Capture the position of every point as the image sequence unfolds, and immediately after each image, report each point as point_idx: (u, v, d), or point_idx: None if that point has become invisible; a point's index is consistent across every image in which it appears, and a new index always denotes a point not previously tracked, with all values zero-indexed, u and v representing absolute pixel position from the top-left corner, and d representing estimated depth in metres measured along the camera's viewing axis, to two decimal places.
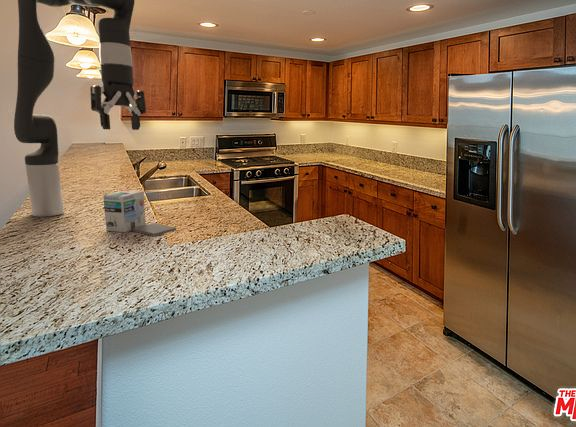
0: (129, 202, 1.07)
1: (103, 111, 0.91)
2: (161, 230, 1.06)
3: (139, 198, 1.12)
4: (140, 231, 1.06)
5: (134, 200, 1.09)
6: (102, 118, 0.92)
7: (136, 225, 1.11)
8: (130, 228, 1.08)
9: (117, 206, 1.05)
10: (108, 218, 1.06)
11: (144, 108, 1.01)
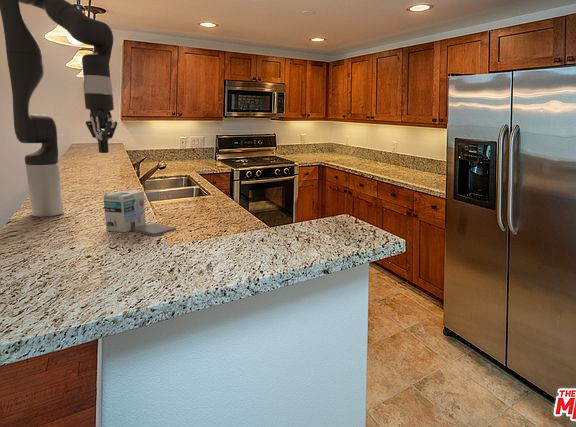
0: (129, 202, 1.07)
1: None
2: (161, 230, 1.06)
3: (139, 198, 1.12)
4: (140, 231, 1.06)
5: (134, 200, 1.09)
6: (106, 144, 1.10)
7: (136, 225, 1.11)
8: (130, 228, 1.08)
9: (117, 206, 1.05)
10: (108, 218, 1.06)
11: None
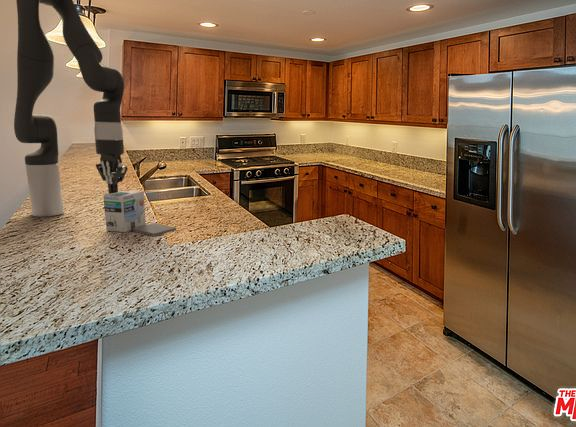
0: (129, 202, 1.07)
1: None
2: (161, 230, 1.06)
3: (139, 198, 1.12)
4: (140, 231, 1.06)
5: (134, 200, 1.09)
6: (116, 187, 1.11)
7: (136, 225, 1.11)
8: (130, 228, 1.08)
9: (117, 206, 1.05)
10: (108, 218, 1.06)
11: None
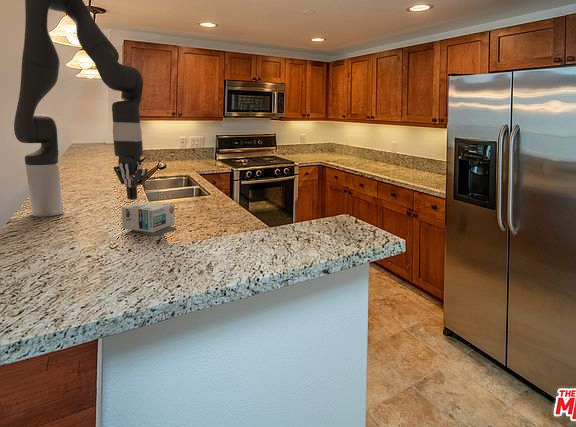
0: None
1: None
2: (161, 230, 1.06)
3: None
4: (140, 231, 1.06)
5: None
6: (135, 190, 1.06)
7: None
8: None
9: (144, 225, 1.03)
10: (132, 212, 1.04)
11: None
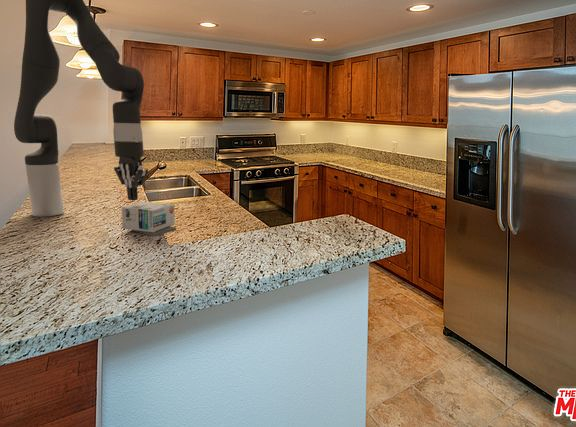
0: None
1: None
2: (161, 230, 1.06)
3: None
4: (140, 231, 1.06)
5: None
6: (135, 191, 1.06)
7: None
8: None
9: (144, 225, 1.03)
10: (132, 212, 1.04)
11: None
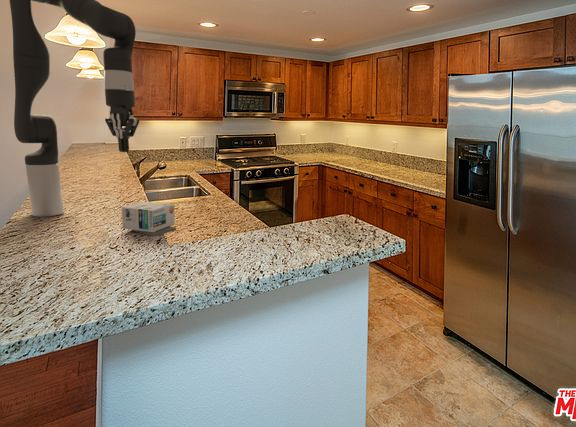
0: None
1: (129, 136, 1.05)
2: (161, 230, 1.06)
3: None
4: (140, 231, 1.06)
5: None
6: (127, 142, 1.05)
7: None
8: None
9: (144, 225, 1.03)
10: (132, 212, 1.04)
11: None
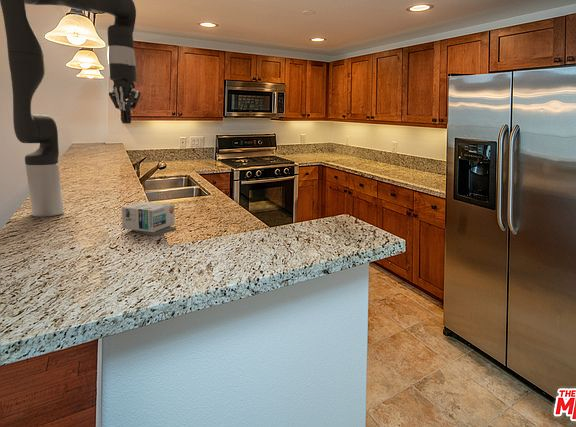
0: None
1: None
2: (161, 230, 1.06)
3: None
4: (140, 231, 1.06)
5: None
6: (129, 114, 1.13)
7: None
8: None
9: (144, 225, 1.03)
10: (132, 212, 1.04)
11: None
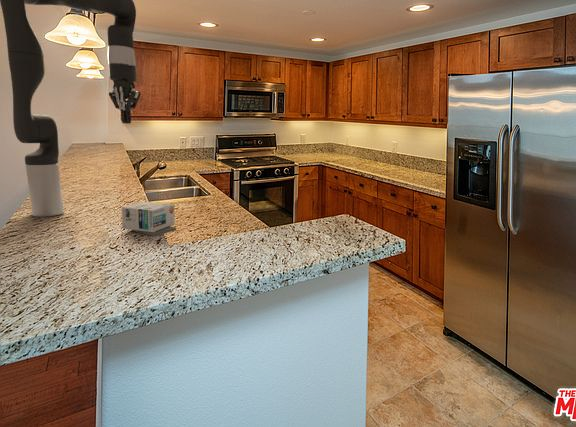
0: None
1: None
2: (161, 230, 1.06)
3: None
4: (140, 231, 1.06)
5: None
6: (129, 114, 1.13)
7: None
8: None
9: (144, 225, 1.03)
10: (132, 212, 1.04)
11: None
